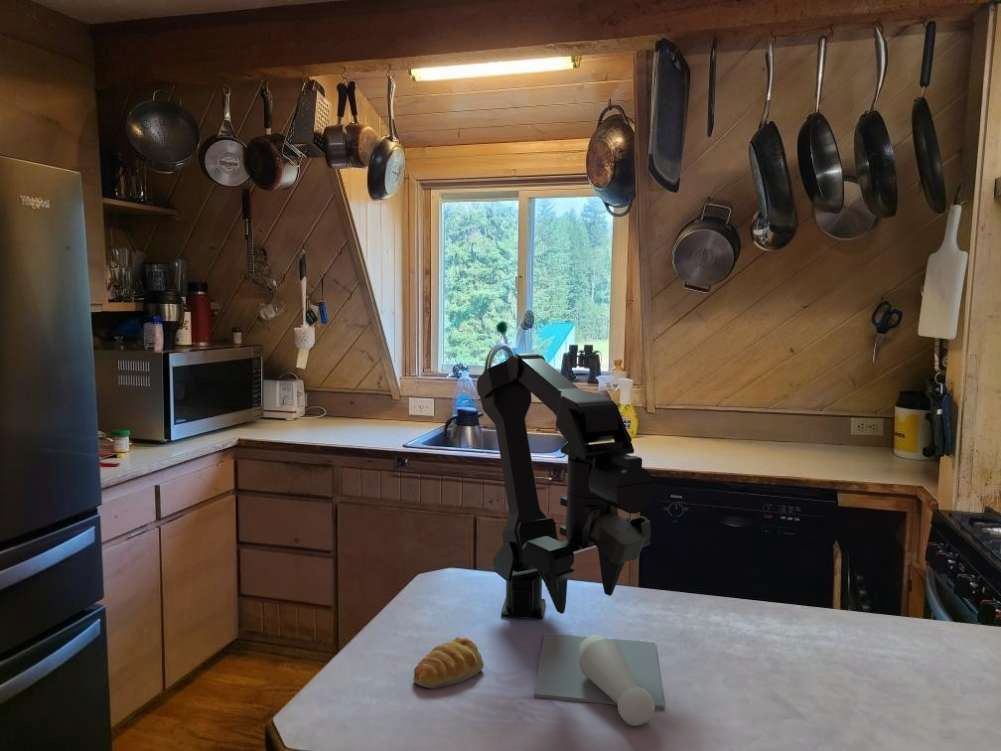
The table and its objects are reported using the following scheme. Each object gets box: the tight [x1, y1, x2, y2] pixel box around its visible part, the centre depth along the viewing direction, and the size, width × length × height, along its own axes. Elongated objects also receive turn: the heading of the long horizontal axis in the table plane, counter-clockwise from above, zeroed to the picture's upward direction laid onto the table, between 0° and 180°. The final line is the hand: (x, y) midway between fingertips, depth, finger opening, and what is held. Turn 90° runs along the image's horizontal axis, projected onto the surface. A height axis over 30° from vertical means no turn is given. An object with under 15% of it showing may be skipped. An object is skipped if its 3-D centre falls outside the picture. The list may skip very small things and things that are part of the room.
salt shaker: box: [578, 634, 656, 727], centre depth 89 cm, size 6×6×13 cm
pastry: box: [413, 636, 485, 690], centre depth 94 cm, size 9×7×4 cm
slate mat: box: [533, 632, 665, 710], centre depth 96 cm, size 16×16×1 cm
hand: (585, 603), depth 98 cm, fingers open, 9 cm apart
